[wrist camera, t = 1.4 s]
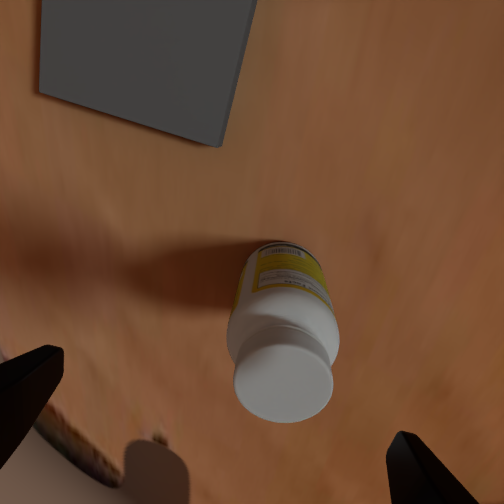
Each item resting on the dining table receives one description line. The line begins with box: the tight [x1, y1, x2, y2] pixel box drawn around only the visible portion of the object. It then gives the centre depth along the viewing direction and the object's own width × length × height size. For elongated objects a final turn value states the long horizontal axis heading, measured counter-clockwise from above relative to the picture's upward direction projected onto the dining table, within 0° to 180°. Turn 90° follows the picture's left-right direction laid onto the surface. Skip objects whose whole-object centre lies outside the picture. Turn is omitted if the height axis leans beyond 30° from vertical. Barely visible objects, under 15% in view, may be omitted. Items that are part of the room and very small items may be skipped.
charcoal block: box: [39, 0, 257, 148], centre depth 17 cm, size 10×10×2 cm
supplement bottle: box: [227, 242, 339, 423], centre depth 18 cm, size 5×5×10 cm
